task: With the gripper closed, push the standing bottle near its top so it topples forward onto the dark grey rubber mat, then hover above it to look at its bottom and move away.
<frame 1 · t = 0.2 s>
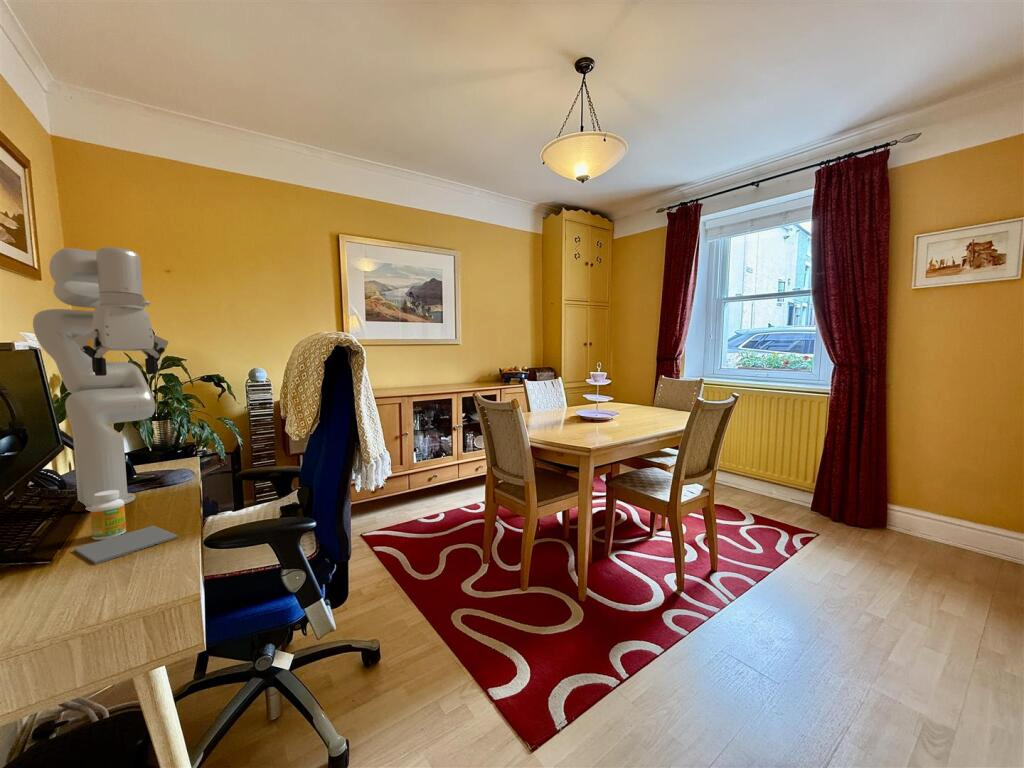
hand: (127, 374, 97), 36 cm above the table, tool pointing down, fingers open, 9 cm apart
rubber mat: (127, 544, 86), on the table
supplement bottle: (109, 536, 91), on the table
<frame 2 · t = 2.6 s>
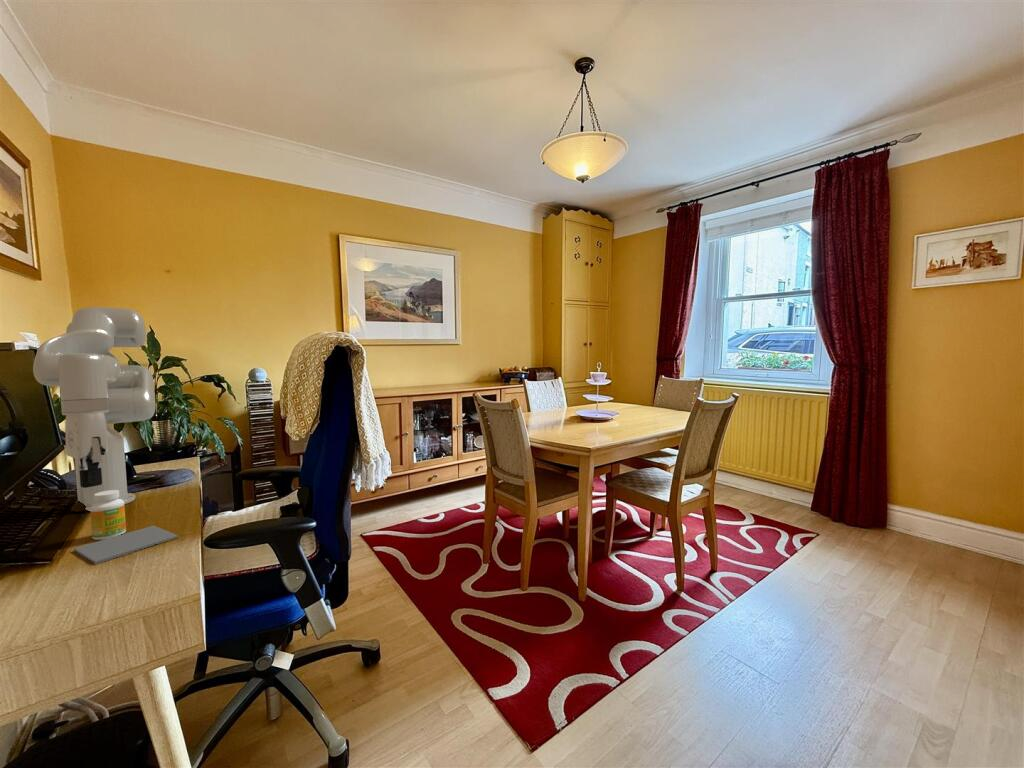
hand: (91, 485, 94), 10 cm above the table, tool pointing down, fingers closed
nothing on the table moved.
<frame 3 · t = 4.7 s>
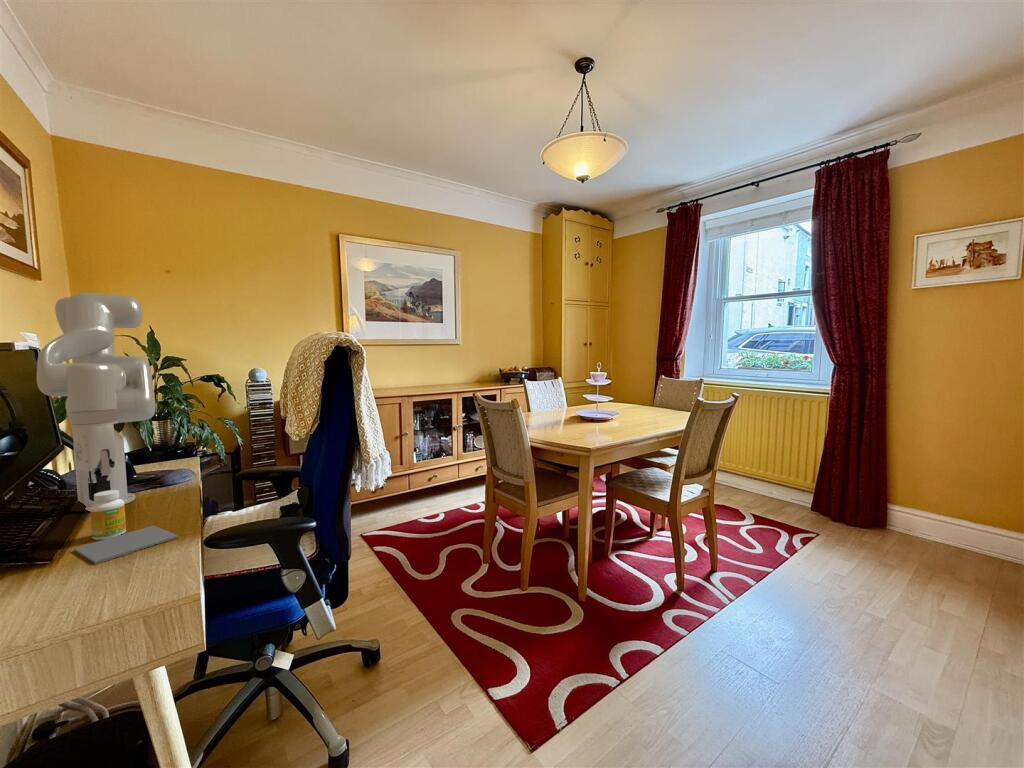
hand: (100, 498, 92), 8 cm above the table, tool pointing down, fingers closed
supplement bottle: (109, 536, 91), on the table, touching gripper
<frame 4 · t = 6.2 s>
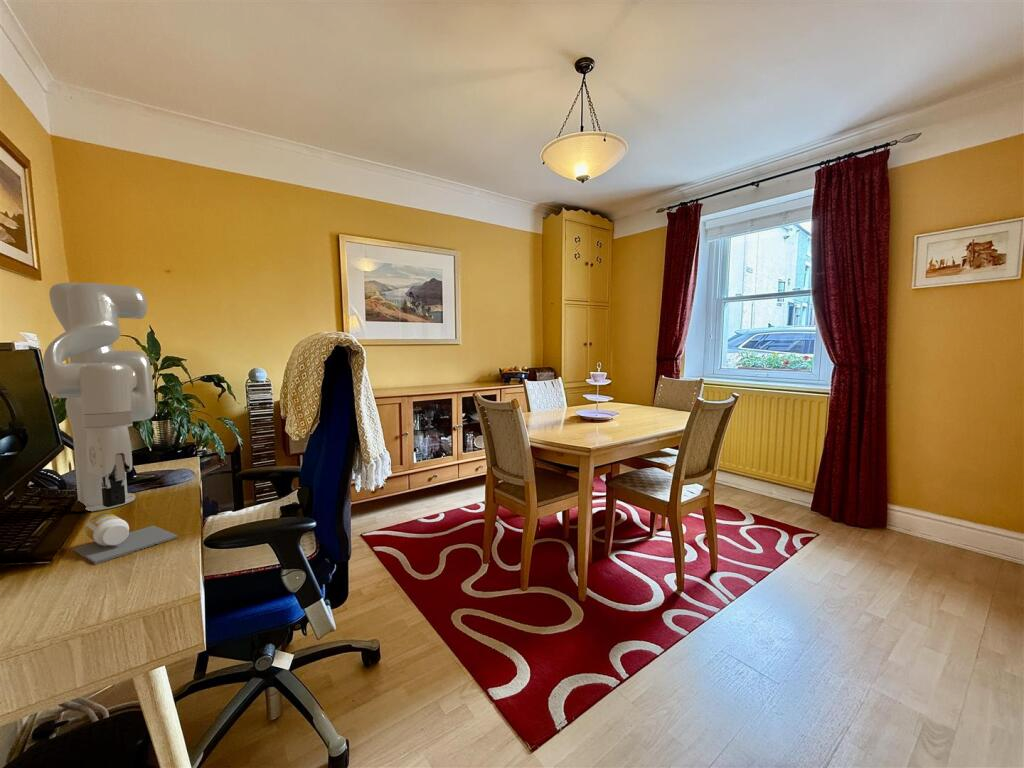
hand: (114, 504, 88), 8 cm above the table, tool pointing down, fingers closed
supplement bottle: (101, 525, 88), point 3 cm above the table, touching rubber mat
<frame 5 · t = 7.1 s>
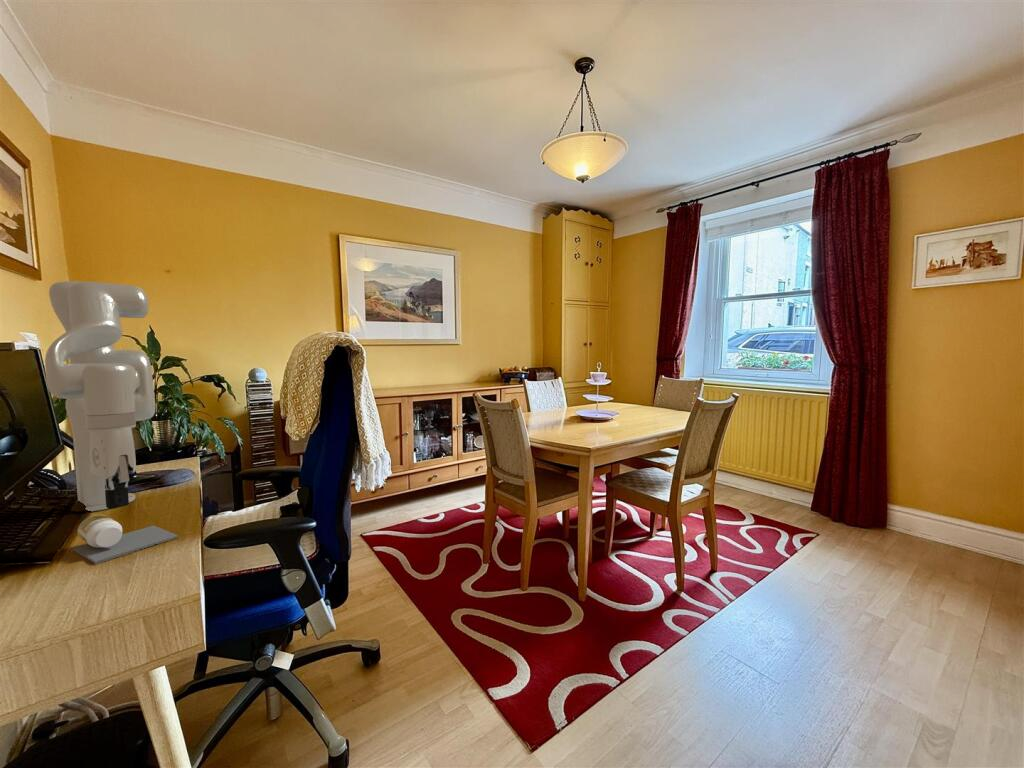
hand: (117, 506, 87), 8 cm above the table, tool pointing down, fingers closed
supplement bottle: (94, 527, 87), point 3 cm above the table, touching rubber mat
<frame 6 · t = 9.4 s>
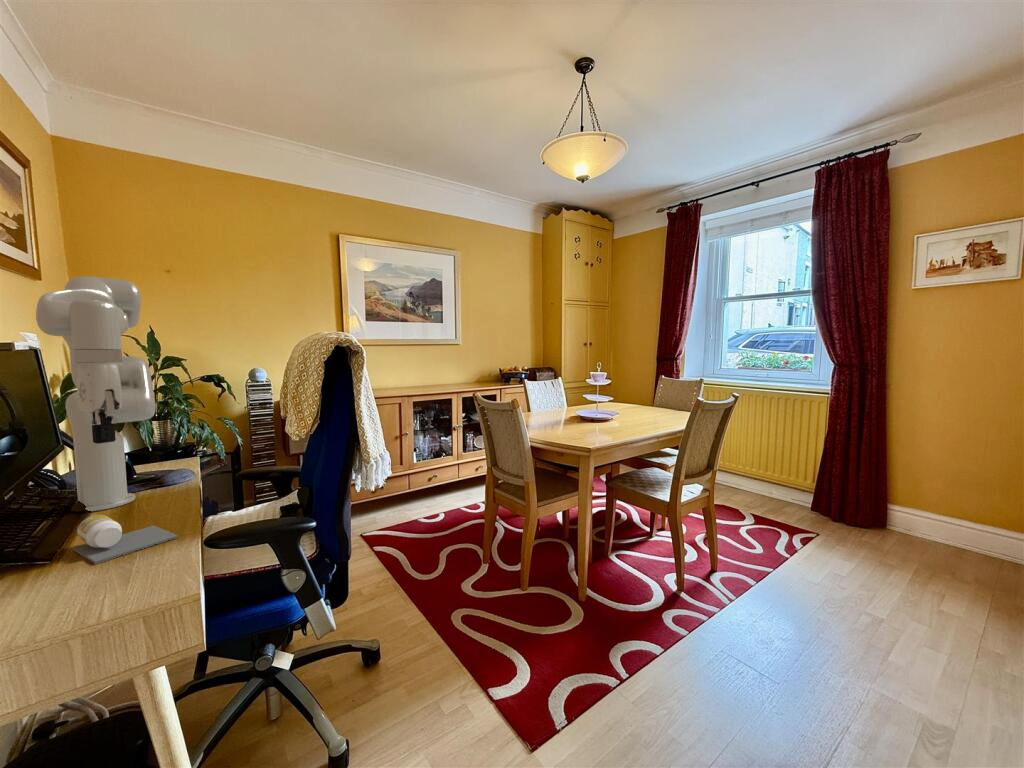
hand: (104, 442, 89), 21 cm above the table, tool pointing down, fingers closed
nothing on the table moved.
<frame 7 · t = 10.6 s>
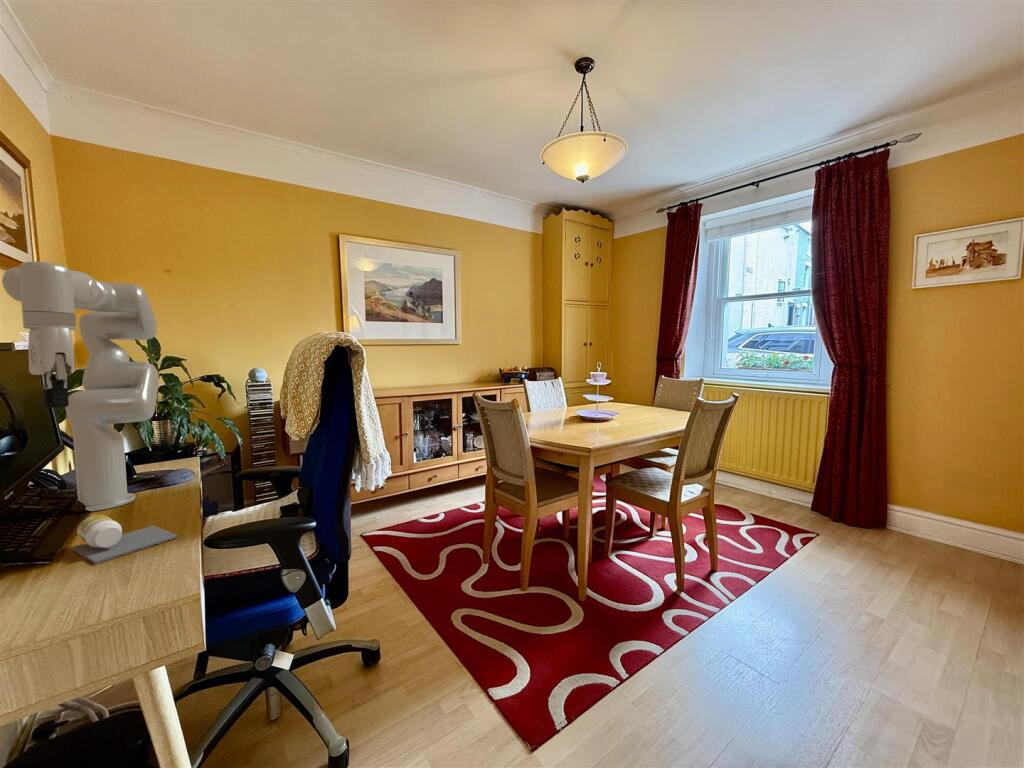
hand: (57, 406, 88), 29 cm above the table, tool pointing down, fingers closed
nothing on the table moved.
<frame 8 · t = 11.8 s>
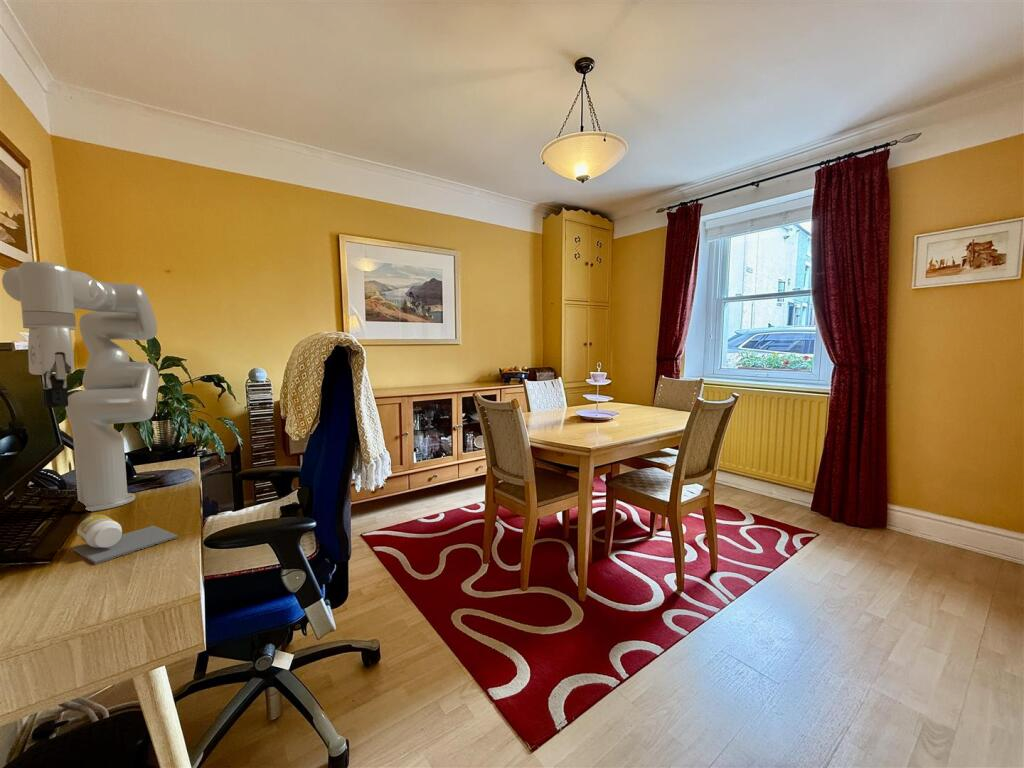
hand: (56, 406, 88), 29 cm above the table, tool pointing down, fingers closed
nothing on the table moved.
at the end: supplement bottle tilted 90°; supplement bottle touching rubber mat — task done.
